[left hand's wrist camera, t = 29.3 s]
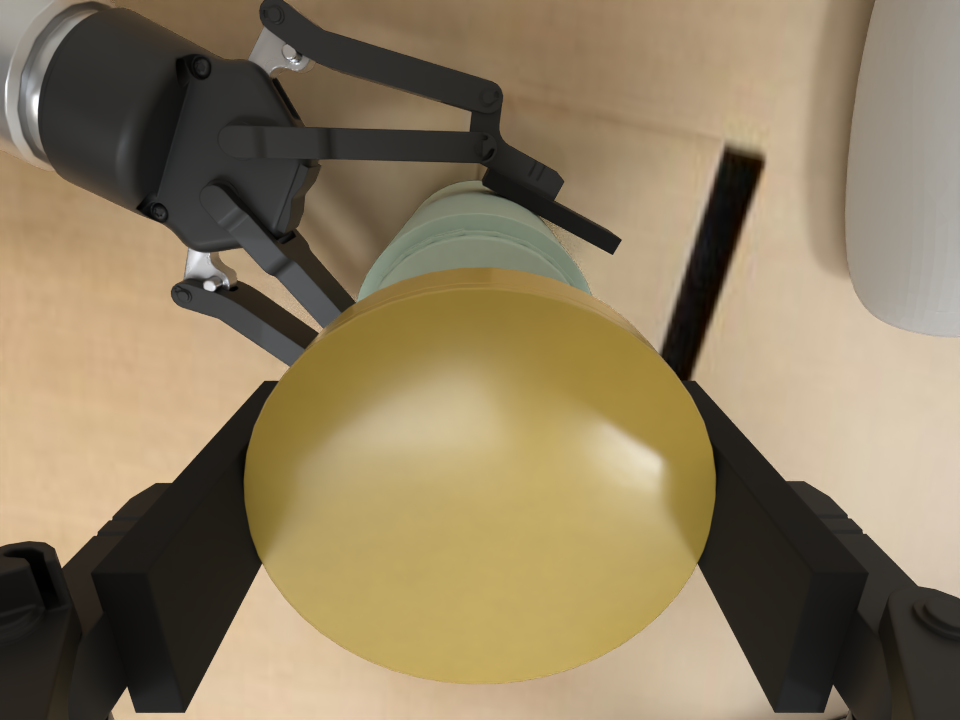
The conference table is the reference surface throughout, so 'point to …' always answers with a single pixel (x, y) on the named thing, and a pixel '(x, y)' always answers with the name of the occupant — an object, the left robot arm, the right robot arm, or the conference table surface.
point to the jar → (472, 240)
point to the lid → (479, 478)
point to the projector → (907, 168)
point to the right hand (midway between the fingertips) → (559, 326)
